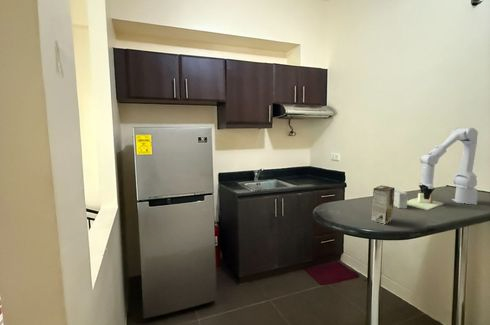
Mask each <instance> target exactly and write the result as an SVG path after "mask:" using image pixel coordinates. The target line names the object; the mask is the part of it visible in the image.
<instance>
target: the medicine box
mask: <svg viewBox="0 0 490 325" xmlns="http://www.w3.org/2000/svg"><path fill="white" fill-rule="evenodd" d="M408 199H409V198H408V193H407V192H406V191H402V190H400V189H395V190H394V205H393V207H396V208H398V209H399V208H402V210H403V209H405V210H406V209H407V208H408V205H407V201H408Z"/></svg>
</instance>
